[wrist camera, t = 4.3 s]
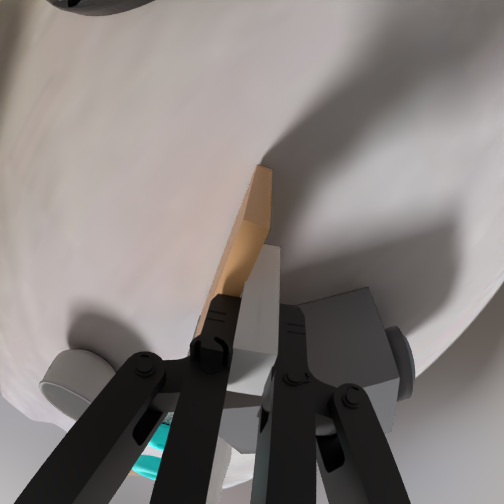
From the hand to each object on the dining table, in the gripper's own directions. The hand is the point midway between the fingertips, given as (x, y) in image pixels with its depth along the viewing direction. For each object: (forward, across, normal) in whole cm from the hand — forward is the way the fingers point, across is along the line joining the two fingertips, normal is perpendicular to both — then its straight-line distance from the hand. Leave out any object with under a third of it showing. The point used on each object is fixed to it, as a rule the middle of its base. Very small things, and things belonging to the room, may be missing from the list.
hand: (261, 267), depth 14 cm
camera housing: (+6, +6, -11) cm, 14 cm away
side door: (+5, -2, -3) cm, 7 cm away
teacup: (+5, -19, -26) cm, 33 cm away
